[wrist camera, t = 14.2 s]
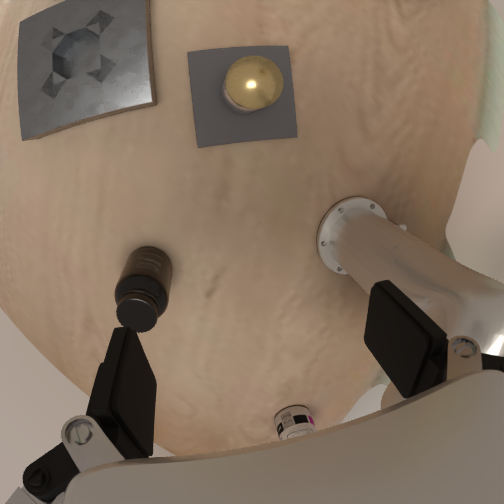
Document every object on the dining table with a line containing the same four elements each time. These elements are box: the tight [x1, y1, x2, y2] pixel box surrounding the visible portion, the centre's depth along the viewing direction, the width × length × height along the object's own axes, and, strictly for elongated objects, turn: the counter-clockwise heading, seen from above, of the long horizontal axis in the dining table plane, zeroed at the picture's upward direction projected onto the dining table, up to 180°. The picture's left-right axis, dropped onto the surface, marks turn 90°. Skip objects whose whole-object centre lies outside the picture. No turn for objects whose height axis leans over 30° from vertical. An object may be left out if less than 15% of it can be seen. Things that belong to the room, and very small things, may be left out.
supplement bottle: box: [115, 247, 172, 333], centre depth 36 cm, size 7×7×12 cm
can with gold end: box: [221, 55, 284, 114], centre depth 30 cm, size 6×6×8 cm
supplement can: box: [275, 406, 317, 440], centre depth 54 cm, size 8×8×15 cm
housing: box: [17, 0, 157, 141], centre depth 26 cm, size 18×18×4 cm
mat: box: [188, 46, 297, 148], centre depth 34 cm, size 13×13×1 cm
